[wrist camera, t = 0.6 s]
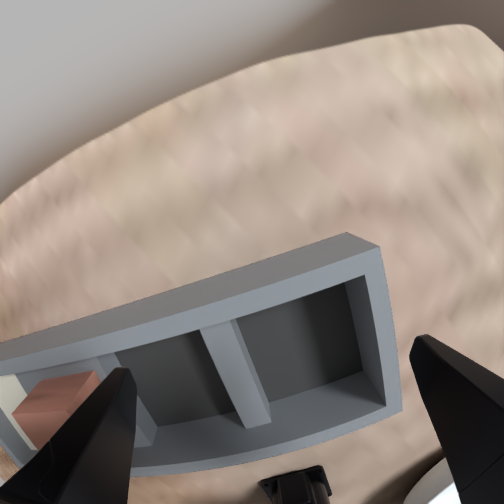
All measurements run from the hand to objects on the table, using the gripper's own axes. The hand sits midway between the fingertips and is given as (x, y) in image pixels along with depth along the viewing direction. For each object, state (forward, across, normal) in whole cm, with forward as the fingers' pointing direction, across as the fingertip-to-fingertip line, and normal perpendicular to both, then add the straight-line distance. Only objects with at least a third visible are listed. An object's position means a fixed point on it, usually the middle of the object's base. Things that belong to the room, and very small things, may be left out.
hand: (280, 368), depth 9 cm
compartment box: (+11, +9, +12) cm, 18 cm away
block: (+8, +14, +12) cm, 20 cm away
